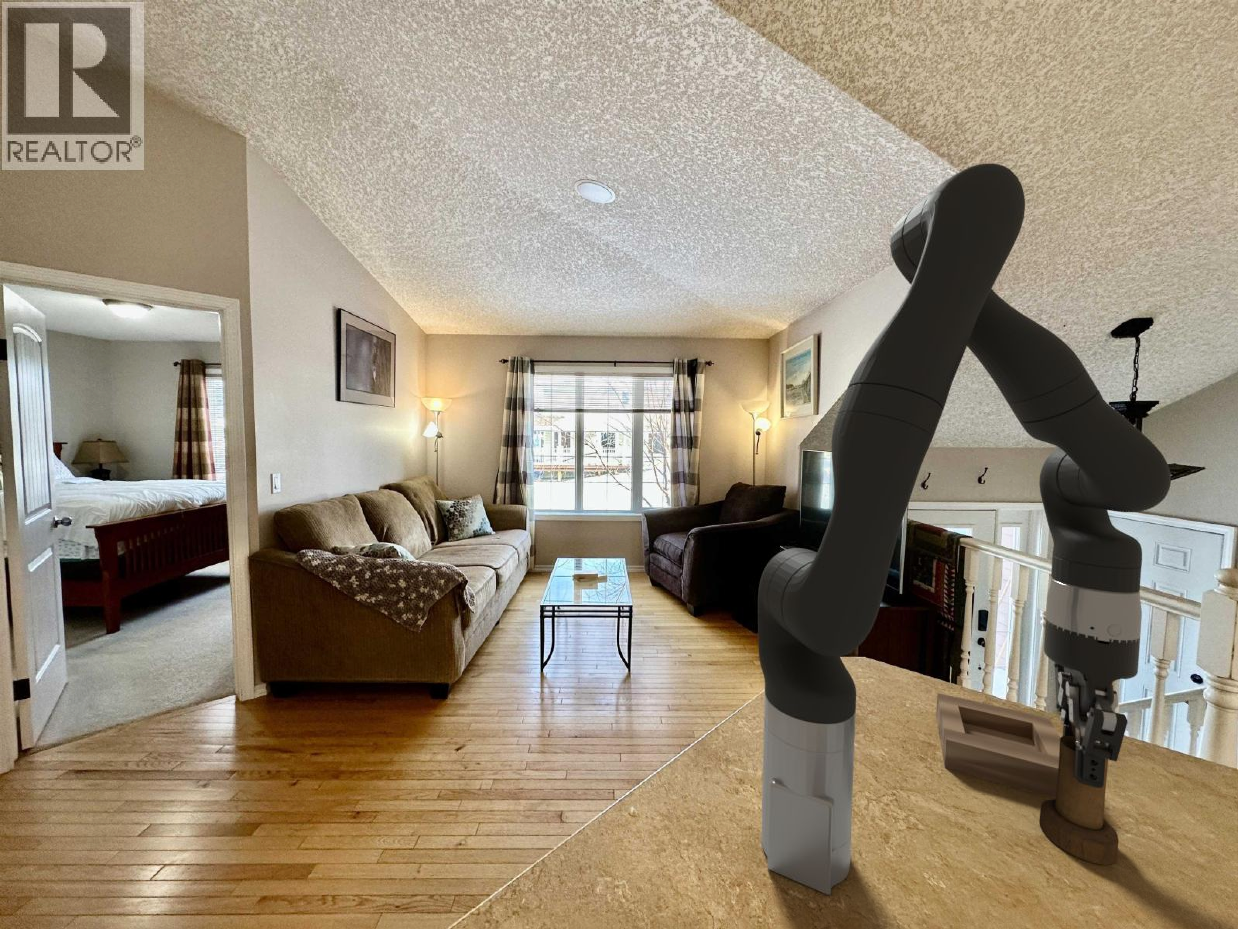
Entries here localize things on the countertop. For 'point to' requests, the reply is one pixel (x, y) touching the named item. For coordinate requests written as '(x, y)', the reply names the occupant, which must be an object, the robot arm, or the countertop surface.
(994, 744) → the brown flat square frame
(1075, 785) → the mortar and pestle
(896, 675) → the countertop surface
